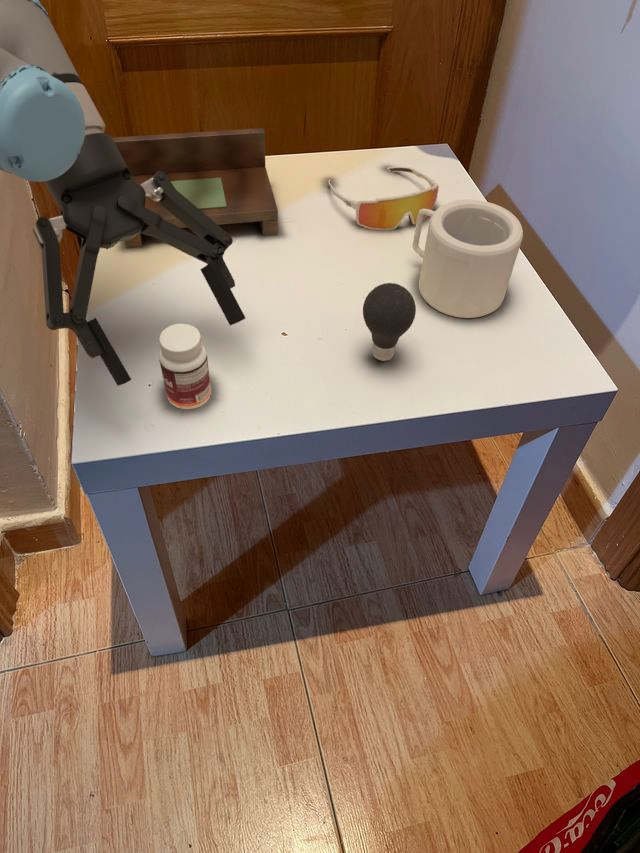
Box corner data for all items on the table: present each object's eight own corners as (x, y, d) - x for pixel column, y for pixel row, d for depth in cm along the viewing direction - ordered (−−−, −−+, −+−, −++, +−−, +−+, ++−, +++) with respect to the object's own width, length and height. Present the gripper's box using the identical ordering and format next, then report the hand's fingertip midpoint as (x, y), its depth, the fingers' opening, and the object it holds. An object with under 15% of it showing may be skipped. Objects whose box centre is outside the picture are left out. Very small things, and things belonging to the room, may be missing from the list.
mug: (520, 292, 87) (542, 224, 79) (470, 333, 82) (489, 264, 74) (435, 246, 92) (448, 177, 85) (383, 281, 87) (392, 212, 80)
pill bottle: (163, 383, 75) (151, 325, 68) (206, 374, 76) (199, 316, 69) (170, 415, 72) (159, 357, 65) (215, 405, 73) (208, 348, 66)
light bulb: (395, 337, 81) (407, 267, 73) (414, 370, 77) (428, 301, 70) (350, 346, 79) (357, 276, 72) (367, 380, 76) (376, 311, 68)
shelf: (126, 249, 90) (113, 186, 83) (124, 198, 97) (112, 137, 90) (278, 236, 93) (277, 174, 86) (265, 187, 100) (263, 127, 93)
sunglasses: (360, 241, 92) (361, 206, 89) (316, 198, 102) (315, 164, 99) (451, 220, 96) (455, 185, 93) (399, 180, 106) (401, 147, 103)
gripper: (172, 125, 73) (264, 306, 78) (-61, 208, 62) (64, 413, 67) (196, 93, 66) (295, 292, 71) (-60, 180, 55) (78, 409, 60)
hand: (183, 351), depth 69 cm, fingers open, 13 cm apart
